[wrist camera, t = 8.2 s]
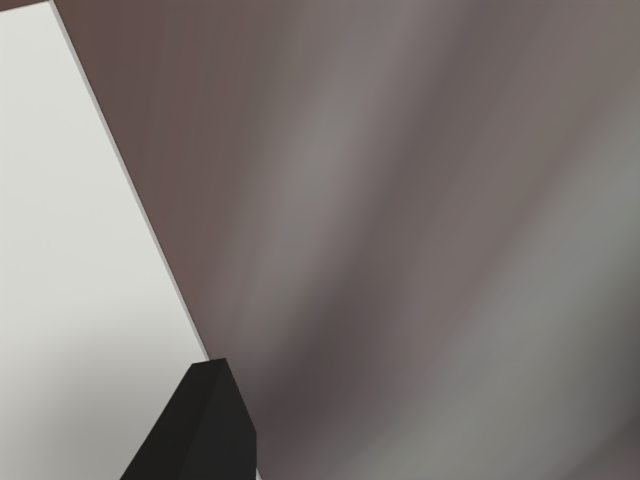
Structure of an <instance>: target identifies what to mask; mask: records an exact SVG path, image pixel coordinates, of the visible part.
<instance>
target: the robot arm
mask: <svg viewBox="0 0 640 480" xmlns="http://www.w3.org/2000/svg"><path fill="white" fill-rule="evenodd" d="M119 480H256V431H255V428H254V426H253V423H252V421H251V419H250V416H249V414H248V411H247V409H246V406H245V404H244V402H243V399H242V397H241V394H240V392H239V389H238V387H237V385H236V382H235V380H234V377H233V375H232V372H231V370H230V368H229V365H228V363H227V360H226V358H222V359H216V360H210V361H204V362H198V363H192V364H191V366H190V367H189V368H188V370H187V372H186V373H185V375H184V376H183V378H182V380H181V381H180V383H179V385H178V386H177V388H176V390H175V391H174V393H173V395H172V396H171V398H170V400H169V401H168V403H167V405H166V406H165V408H164V410H163V411H162V413H161V415H160V416H159V418H158V419H157V421H156V423H155V424H154V426H153V428H152V429H151V431H150V432H149V434H148V436H147V437H146V439H145V440H144V442H143V444H142V445H141V447H140V448H139V450H138V451H137V453H136V454H135V456H134V458H133V459H132V461H131V462H130V464H129V465H128V467H127V468H126V470H125V472H124V473H123V475H122V476H121V478H120V479H119Z"/></svg>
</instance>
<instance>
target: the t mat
mask: <svg viewBox="0 0 640 480" xmlns="http://www.w3.org/2000/svg"><path fill="white" fill-rule="evenodd" d="M204 361H210V360H209V358H208V355H207V353H206V351H205V348H204V346H203V344H202V342H201V339H200V337H199V335H198V332H197V330H196V328H195V325H194V323H193V321H192V319H191V316H190V314H189V312H188V309H187V307H186V305H185V303H184V300H183V298H182V296H181V293H180V291H179V289H178V286H177V284H176V282H175V280H174V277H173V275H172V273H171V270H170V268H169V266H168V263H167V261H166V259H165V257H164V254H163V252H162V250H161V247H160V245H159V243H158V240H157V238H156V236H155V234H154V231H153V229H152V227H151V224H150V222H149V220H148V217H147V215H146V213H145V211H144V208H143V206H142V204H141V201H140V199H139V197H138V195H137V192H136V190H135V188H134V185H133V183H132V181H131V178H130V176H129V174H128V172H127V169H126V167H125V165H124V162H123V160H122V158H121V155H120V153H119V151H118V149H117V146H116V144H115V142H114V139H113V137H112V135H111V132H110V130H109V128H108V126H107V123H106V121H105V119H104V116H103V114H102V112H101V109H100V107H99V105H98V103H97V100H96V98H95V96H94V93H93V91H92V89H91V86H90V84H89V82H88V80H87V77H86V75H85V73H84V70H83V68H82V66H81V64H80V61H79V59H78V57H77V54H76V52H75V50H74V47H73V45H72V43H71V41H70V38H69V36H68V34H67V31H66V29H65V27H64V24H63V22H62V20H61V18H60V15H59V13H58V11H57V8H56V6H55V4H54V1H53V0H49V1H45V2H40V3H36V4H32V5H27V6H23V7H19V8H14V9H10V10H6V11H2V12H0V480H119V479H120V478H121V476H122V475H123V473H124V472H125V470H126V468H127V467H128V465H129V464H130V462H131V461H132V459H133V458H134V456H135V454H136V453H137V451H138V450H139V448H140V447H141V445H142V444H143V442H144V440H145V439H146V437H147V436H148V434H149V432H150V431H151V429H152V428H153V426H154V424H155V423H156V421H157V419H158V418H159V416H160V415H161V413H162V411H163V410H164V408H165V406H166V405H167V403H168V401H169V400H170V398H171V396H172V395H173V393H174V391H175V390H176V388H177V386H178V385H179V383H180V381H181V380H182V378H183V376H184V375H185V373H186V372H187V370H188V368H189V367H190V366H191V364H192V363H198V362H204ZM256 480H262V479H261V477H260V475H259V473H258V470H257V468H256Z"/></svg>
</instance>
